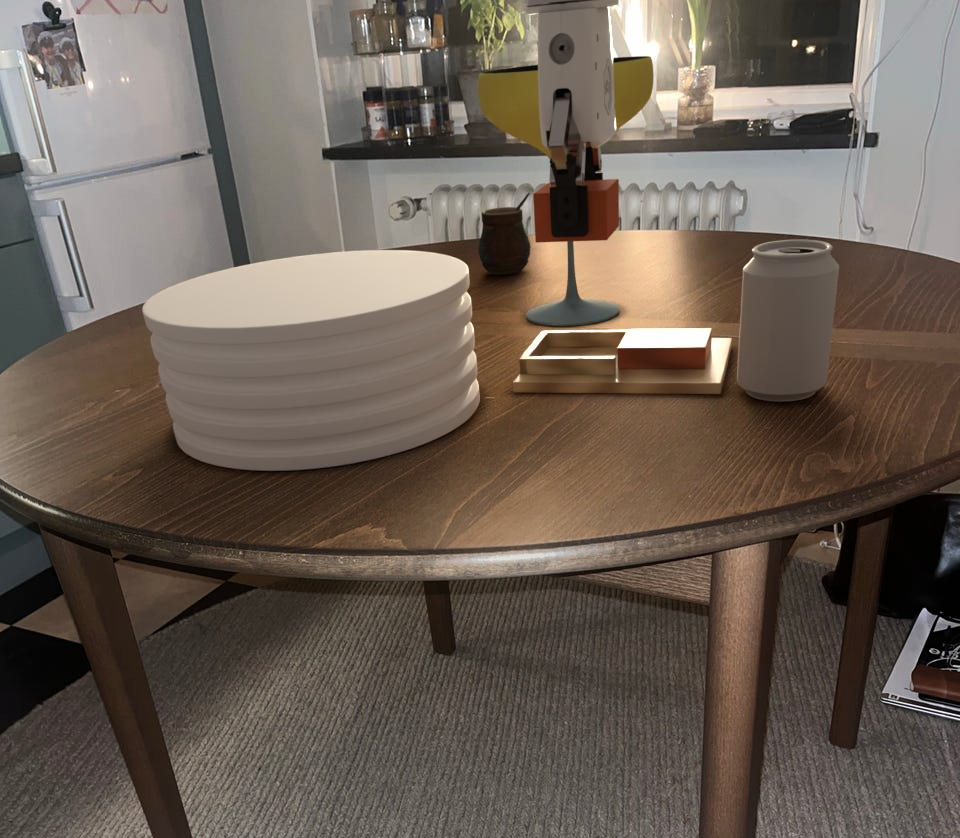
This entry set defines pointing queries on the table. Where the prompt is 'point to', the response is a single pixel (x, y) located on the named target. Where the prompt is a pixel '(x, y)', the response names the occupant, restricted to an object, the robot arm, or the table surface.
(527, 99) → the cocktail glass
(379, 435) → the plate stack
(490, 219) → the mate gourd
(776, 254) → the can
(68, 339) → the table surface
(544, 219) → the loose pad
